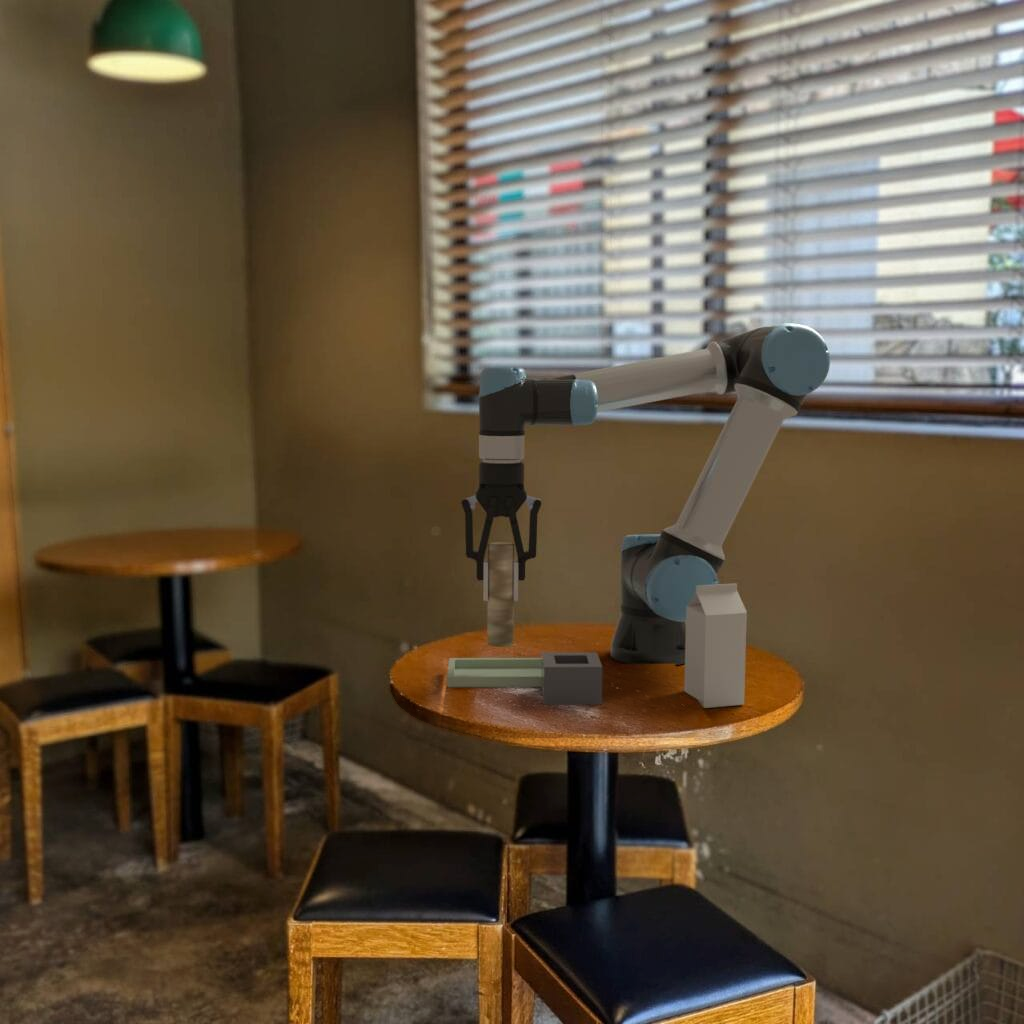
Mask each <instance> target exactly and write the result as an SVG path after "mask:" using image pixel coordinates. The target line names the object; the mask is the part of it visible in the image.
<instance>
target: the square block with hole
mask: <svg viewBox="0 0 1024 1024" xmlns="http://www.w3.org/2000/svg"><path fill="white" fill-rule="evenodd" d="M541 658H542V687H541V692H542V693H541V694H542V699H543V700H542V701H543V705H544V706H549V705H550V706H591V705H593V706H599V705H600V706H602V705H603V665H602V662H601V660H600V657H599V654H598V652H597V651H595V652H594V651H593V652H588V651H587V652H583V651H582V652H577V651H576V652H574V651H573V652H570V651H569V652H568V651H567V652H566V651H565V652H564V651H563V652H561V651H560V652H543V651H542V652H541Z"/></svg>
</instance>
